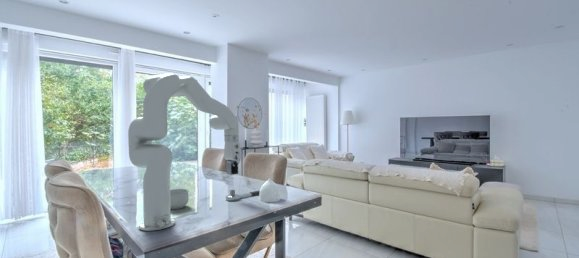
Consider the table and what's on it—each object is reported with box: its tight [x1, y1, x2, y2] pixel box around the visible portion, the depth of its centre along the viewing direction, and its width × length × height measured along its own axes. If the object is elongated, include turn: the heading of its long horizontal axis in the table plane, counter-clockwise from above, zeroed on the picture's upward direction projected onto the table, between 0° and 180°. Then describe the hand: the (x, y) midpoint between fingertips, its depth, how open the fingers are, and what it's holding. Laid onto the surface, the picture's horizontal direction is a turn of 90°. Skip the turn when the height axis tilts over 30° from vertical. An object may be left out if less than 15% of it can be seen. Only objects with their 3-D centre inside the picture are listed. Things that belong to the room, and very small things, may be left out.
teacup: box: [170, 188, 189, 210], centre depth 134 cm, size 14×11×8 cm
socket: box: [226, 160, 239, 176], centre depth 148 cm, size 4×4×7 cm
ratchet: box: [225, 189, 260, 202], centre depth 153 cm, size 7×23×5 cm, turn 132°
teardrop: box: [258, 177, 281, 203], centre depth 147 cm, size 11×11×12 cm
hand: (232, 172), depth 148 cm, fingers closed on socket, 4 cm apart
